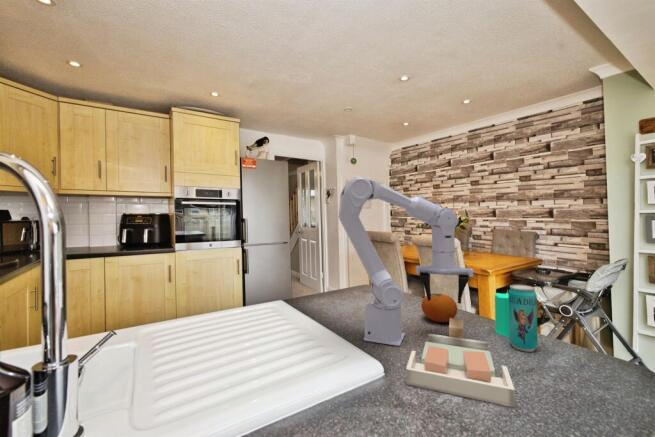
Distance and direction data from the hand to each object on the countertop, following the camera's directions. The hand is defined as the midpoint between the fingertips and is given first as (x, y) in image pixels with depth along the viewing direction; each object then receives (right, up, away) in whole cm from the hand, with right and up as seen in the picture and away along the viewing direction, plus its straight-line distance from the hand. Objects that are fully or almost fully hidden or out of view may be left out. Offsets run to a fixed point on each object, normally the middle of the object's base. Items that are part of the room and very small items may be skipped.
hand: (444, 301), depth 79 cm
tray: (-7, -9, -23) cm, 26 cm away
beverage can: (+16, -9, -8) cm, 20 cm away
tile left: (-9, -8, -18) cm, 22 cm away
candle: (+18, -9, +1) cm, 20 cm away
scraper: (+1, -10, -6) cm, 11 cm away
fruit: (+3, -10, +12) cm, 16 cm away
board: (-3, -9, -15) cm, 18 cm away
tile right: (-2, -8, -21) cm, 23 cm away
